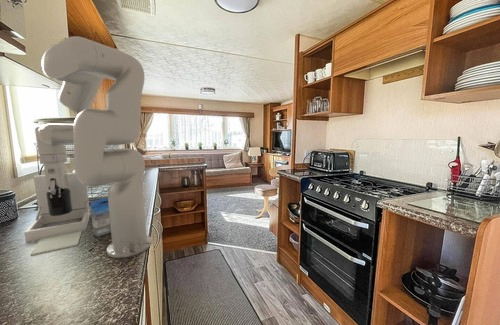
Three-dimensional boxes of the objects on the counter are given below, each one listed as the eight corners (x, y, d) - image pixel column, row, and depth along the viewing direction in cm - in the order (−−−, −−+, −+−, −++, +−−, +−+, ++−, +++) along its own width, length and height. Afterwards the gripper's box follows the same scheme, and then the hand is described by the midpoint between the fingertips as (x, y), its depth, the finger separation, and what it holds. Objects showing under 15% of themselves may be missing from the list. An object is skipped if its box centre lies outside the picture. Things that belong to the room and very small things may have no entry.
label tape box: (97, 237, 75) (93, 203, 73) (93, 234, 77) (89, 201, 75) (124, 228, 82) (121, 197, 80) (119, 225, 84) (116, 195, 82)
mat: (77, 245, 69) (77, 243, 69) (30, 255, 63) (30, 254, 63) (81, 232, 79) (81, 230, 78) (41, 240, 73) (41, 238, 73)
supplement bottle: (52, 217, 77) (48, 185, 75) (46, 214, 81) (41, 183, 79) (75, 211, 83) (71, 181, 81) (68, 208, 86) (64, 179, 85)
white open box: (85, 230, 80) (79, 179, 77) (25, 242, 71) (16, 185, 69) (90, 214, 95) (85, 171, 92) (41, 222, 87) (34, 175, 84)
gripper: (62, 160, 74) (68, 209, 76) (70, 156, 88) (76, 198, 91) (32, 161, 70) (40, 214, 72) (46, 157, 84) (52, 201, 87)
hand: (60, 204), depth 81 cm, fingers closed on supplement bottle, 6 cm apart
